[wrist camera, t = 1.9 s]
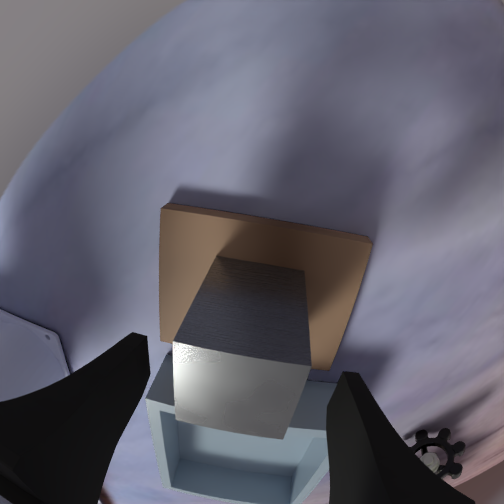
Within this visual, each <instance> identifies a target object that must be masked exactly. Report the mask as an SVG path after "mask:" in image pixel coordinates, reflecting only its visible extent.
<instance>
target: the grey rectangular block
mask: <svg viewBox="0 0 504 504" xmlns="http://www.w3.org/2000/svg"><path fill="white" fill-rule="evenodd" d="M311 367H312V363H311V347H310V332H309V319H308V306H307V294H306V283H305V272H304V270H298V269H292V268H286V267H281V266H275V265H269V264H263V263H257V262H251V261H246V260H240V259H234V258H228V257H222V256H217V255H216V257H215V259H214V261H213V263H212V265H211V267H210V269H209V271H208V273H207V275H206V277H205V278H204V280H203V282H202V284H201V286H200V288H199V290H198V292H197V294H196V296H195V298H194V300H193V302H192V304H191V306H190V308H189V310H188V312H187V314H186V316H185V318H184V320H183V322H182V324H181V326H180V328H179V330H178V332H177V334H176V336H175V338H174V340H173V378H174V401H175V419H176V420H178V421H182V422H186V423H190V424H194V425H199V426H203V427H208V428H212V429H217V430H223V431H228V432H233V433H239V434H245V435H251V436H258V437H265V438H273V439H281V440H283V439H284V436H285V434H286V431H287V429H288V427H289V424H290V422H291V419H292V417H293V414H294V412H295V409H296V407H297V404H298V402H299V399H300V396H301V394H302V391H303V389H304V386H305V383H306V380H307V378H308V375H309V372H310V369H311Z"/></svg>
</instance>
